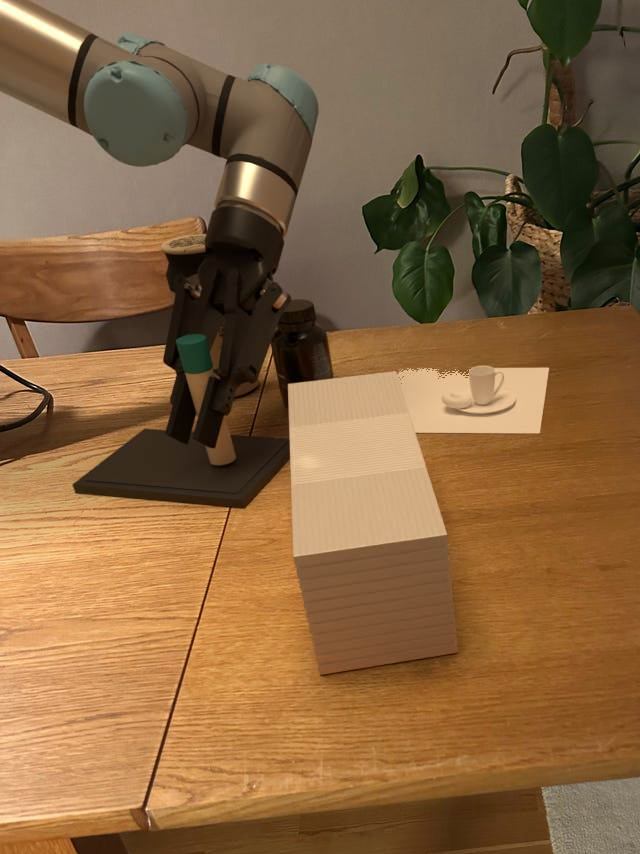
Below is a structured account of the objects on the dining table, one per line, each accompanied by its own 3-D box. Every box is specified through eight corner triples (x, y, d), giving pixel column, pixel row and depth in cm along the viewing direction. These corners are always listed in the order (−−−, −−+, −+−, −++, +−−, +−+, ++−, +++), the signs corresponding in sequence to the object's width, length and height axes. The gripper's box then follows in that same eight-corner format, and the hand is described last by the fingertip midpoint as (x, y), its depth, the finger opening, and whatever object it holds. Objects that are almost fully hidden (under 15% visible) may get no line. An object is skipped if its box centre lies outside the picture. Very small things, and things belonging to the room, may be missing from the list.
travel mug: (187, 389, 111) (147, 243, 100) (241, 372, 115) (208, 229, 103) (215, 405, 106) (175, 254, 95) (270, 387, 110) (238, 239, 98)
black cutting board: (75, 492, 89) (71, 483, 89) (146, 436, 100) (144, 427, 99) (244, 508, 85) (241, 498, 84) (300, 447, 95) (299, 438, 95)
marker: (204, 464, 90) (170, 343, 82) (217, 452, 92) (185, 333, 84) (228, 466, 89) (196, 344, 81) (241, 454, 91) (211, 334, 83)
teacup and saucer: (439, 416, 100) (436, 383, 97) (449, 390, 106) (446, 358, 103) (512, 417, 99) (511, 383, 96) (518, 390, 105) (517, 358, 102)
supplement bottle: (272, 409, 104) (250, 311, 96) (303, 389, 109) (285, 293, 101) (317, 417, 101) (299, 316, 94) (348, 396, 106) (333, 298, 99)
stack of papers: (457, 653, 65) (447, 534, 58) (320, 675, 64) (293, 556, 57) (407, 469, 90) (396, 370, 83) (307, 482, 88) (287, 383, 82)
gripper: (332, 249, 87) (275, 464, 86) (210, 242, 93) (154, 444, 91) (295, 204, 80) (231, 438, 79) (165, 199, 86) (103, 417, 84)
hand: (190, 440), depth 85 cm, fingers closed on marker, 3 cm apart
